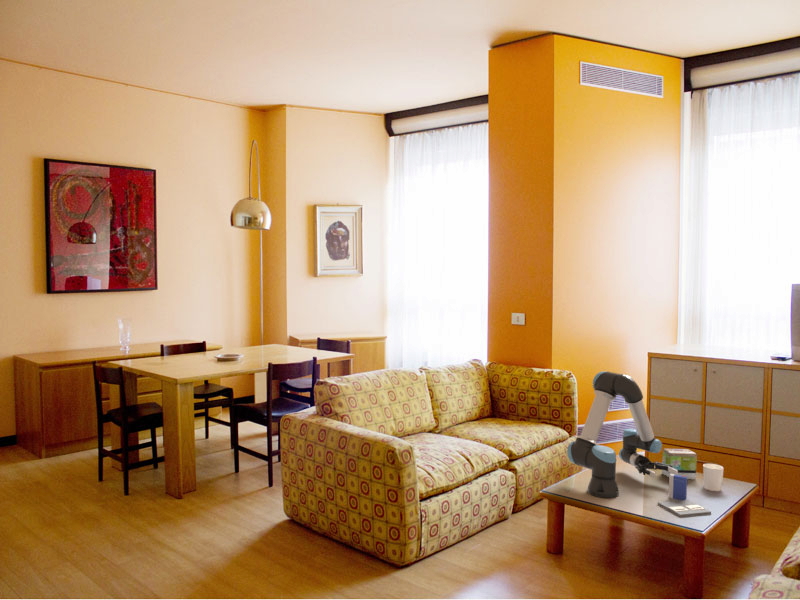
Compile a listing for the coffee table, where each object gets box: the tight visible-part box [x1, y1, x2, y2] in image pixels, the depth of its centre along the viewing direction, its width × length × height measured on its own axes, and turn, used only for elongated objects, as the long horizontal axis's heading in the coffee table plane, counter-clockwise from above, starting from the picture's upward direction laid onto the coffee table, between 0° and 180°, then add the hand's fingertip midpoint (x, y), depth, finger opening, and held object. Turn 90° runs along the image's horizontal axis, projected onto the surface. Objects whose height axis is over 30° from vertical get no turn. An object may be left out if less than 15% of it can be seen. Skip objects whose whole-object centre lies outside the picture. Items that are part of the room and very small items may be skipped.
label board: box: [657, 499, 712, 518], centre depth 293 cm, size 17×16×2 cm
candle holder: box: [702, 463, 724, 492], centre depth 323 cm, size 10×10×12 cm
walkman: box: [668, 474, 688, 500], centre depth 307 cm, size 8×3×12 cm, turn 53°
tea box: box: [661, 448, 698, 480], centre depth 342 cm, size 15×10×15 cm, turn 91°
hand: (665, 474), depth 316 cm, fingers open, 13 cm apart
